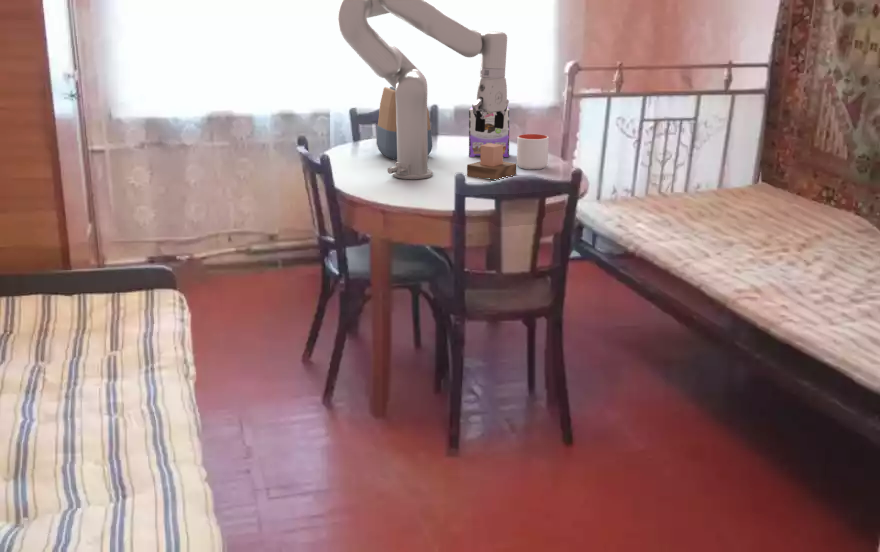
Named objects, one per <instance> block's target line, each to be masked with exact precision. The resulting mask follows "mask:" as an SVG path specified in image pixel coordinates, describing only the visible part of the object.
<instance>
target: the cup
mask: <svg viewBox="0 0 880 552" xmlns="http://www.w3.org/2000/svg"><path fill="white" fill-rule="evenodd" d="M549 138H550V137H549V136H548V135H547V134H546V135H545V134H539V133H526V134H519V135H518V136H517V138H516V139H517V143H516V144H517V145H516V146H517V148H516V166H517V167H518V168H520V169H524V170H530V169H532V170H534V171H535V169H536V170H541V169H545V168H547V166H548V162H549Z"/></svg>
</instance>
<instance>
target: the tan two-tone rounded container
mask: <svg viewBox="0 0 880 552" xmlns="http://www.w3.org/2000/svg"><path fill="white" fill-rule="evenodd" d="M395 91H396V89H395V88H394V87H393V86H390V87H386V86H385V87H383V90H382V95H381V97H380V102H379V111H378V119H377V121H378V122H377V125H376V145H377V146H376V147H377V149H378V151H379V152H380V153H381V154H382V155H384V156H385V157H386V158H389V159H390V160H395V161H397V126H396V96H395ZM430 120H431V119H430V111H429V108H428V107H427V142H428V156H429V155H430V153H431V152H432V149H433V134H432V133H433V132H432V131H433V130H432V129H431V121H430Z"/></svg>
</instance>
